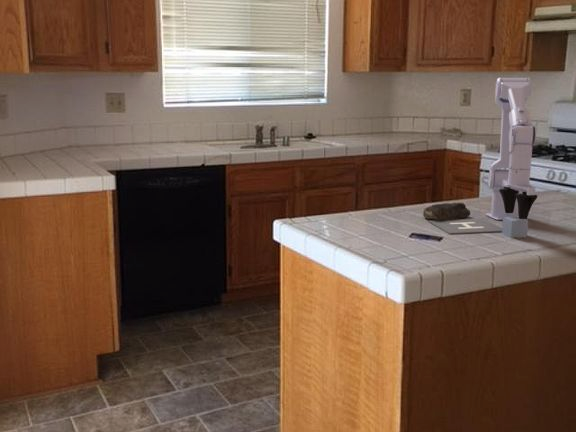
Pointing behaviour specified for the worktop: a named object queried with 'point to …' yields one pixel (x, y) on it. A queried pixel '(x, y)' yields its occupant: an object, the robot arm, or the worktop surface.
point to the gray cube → (514, 227)
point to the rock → (446, 211)
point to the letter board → (466, 226)
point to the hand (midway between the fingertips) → (515, 215)
